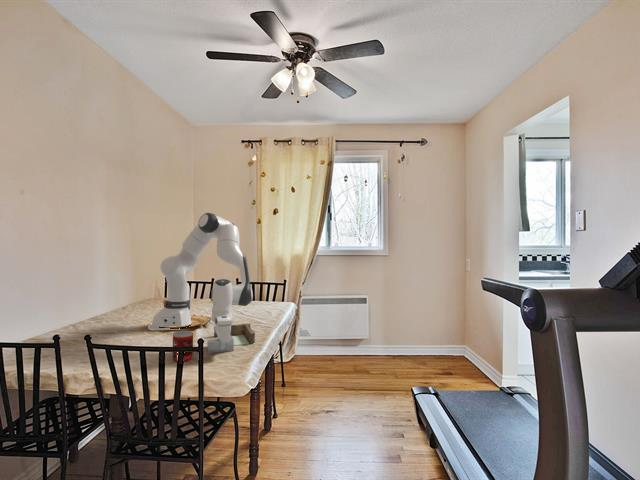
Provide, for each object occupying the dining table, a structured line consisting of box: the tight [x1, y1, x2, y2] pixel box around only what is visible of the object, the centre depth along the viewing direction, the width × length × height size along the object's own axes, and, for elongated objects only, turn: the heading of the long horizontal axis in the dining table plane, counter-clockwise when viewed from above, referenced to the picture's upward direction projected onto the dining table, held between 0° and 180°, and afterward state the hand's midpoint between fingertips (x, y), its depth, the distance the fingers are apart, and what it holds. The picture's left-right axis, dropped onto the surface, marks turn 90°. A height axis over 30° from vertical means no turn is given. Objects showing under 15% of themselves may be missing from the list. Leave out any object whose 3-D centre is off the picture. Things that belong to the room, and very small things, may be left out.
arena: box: [213, 323, 256, 345], centre depth 179 cm, size 18×18×5 cm
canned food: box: [172, 330, 194, 363], centre depth 151 cm, size 8×8×11 cm
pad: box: [216, 334, 250, 346], centre depth 177 cm, size 13×14×1 cm
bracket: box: [206, 335, 235, 354], centre depth 164 cm, size 11×7×5 cm, turn 113°
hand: (221, 347), depth 162 cm, fingers open, 3 cm apart
